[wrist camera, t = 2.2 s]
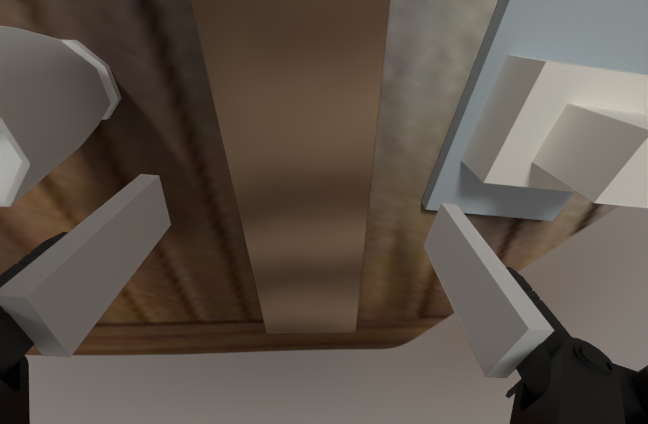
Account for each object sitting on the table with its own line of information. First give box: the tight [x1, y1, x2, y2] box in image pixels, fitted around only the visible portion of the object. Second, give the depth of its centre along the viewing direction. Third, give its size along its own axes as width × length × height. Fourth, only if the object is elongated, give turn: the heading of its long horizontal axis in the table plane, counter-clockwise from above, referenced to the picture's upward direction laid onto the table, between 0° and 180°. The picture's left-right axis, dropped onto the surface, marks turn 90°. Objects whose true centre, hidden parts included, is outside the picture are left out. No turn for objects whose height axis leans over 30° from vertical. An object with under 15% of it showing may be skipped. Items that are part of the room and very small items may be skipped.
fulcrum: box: [422, 0, 648, 221], centre depth 14 cm, size 14×10×8 cm
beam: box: [190, 0, 390, 334], centre depth 16 cm, size 26×7×6 cm, turn 0°
